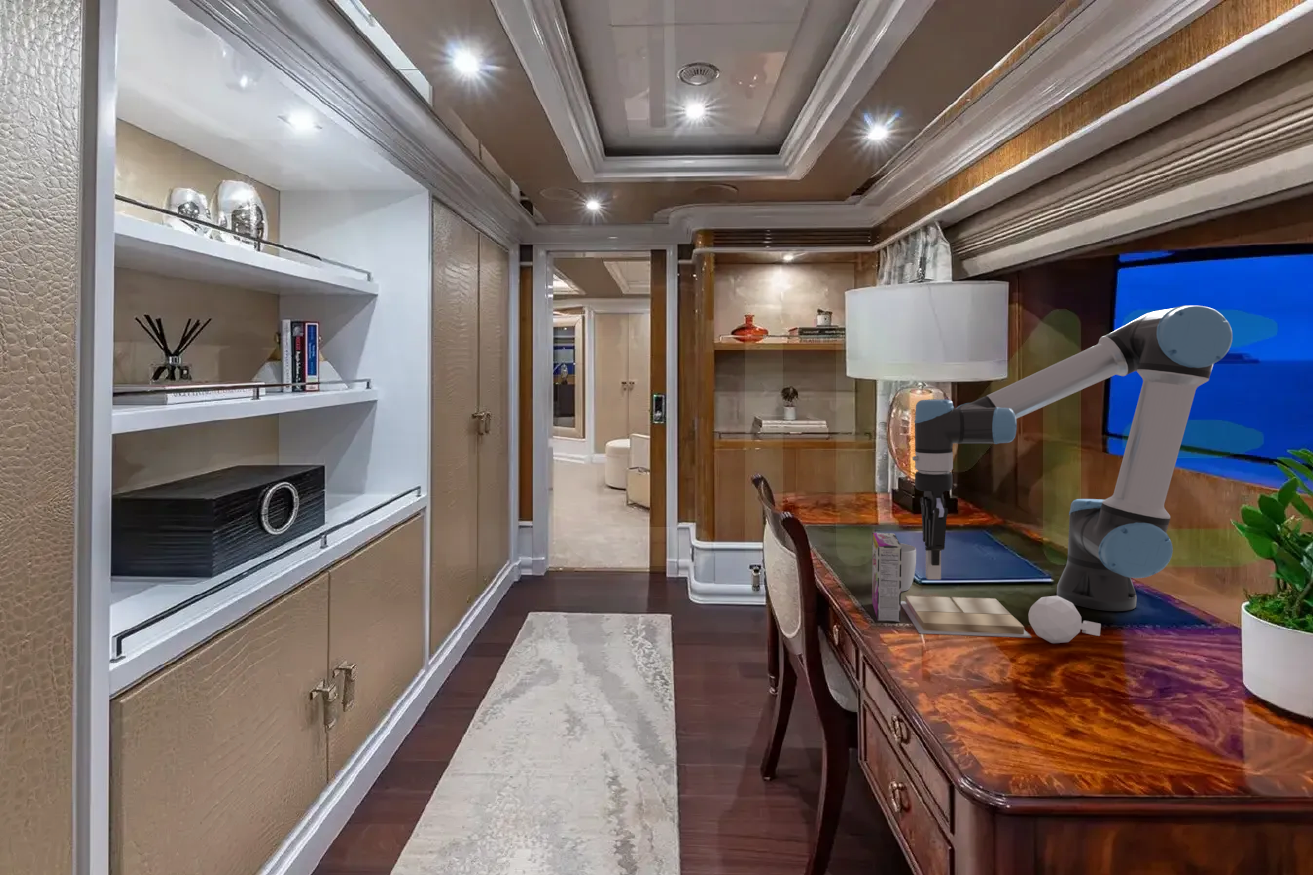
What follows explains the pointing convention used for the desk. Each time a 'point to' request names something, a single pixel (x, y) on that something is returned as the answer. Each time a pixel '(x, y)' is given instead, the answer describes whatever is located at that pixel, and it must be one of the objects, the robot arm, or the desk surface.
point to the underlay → (955, 631)
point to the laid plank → (969, 622)
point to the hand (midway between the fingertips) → (933, 577)
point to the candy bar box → (886, 577)
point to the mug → (907, 566)
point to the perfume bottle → (1058, 620)
